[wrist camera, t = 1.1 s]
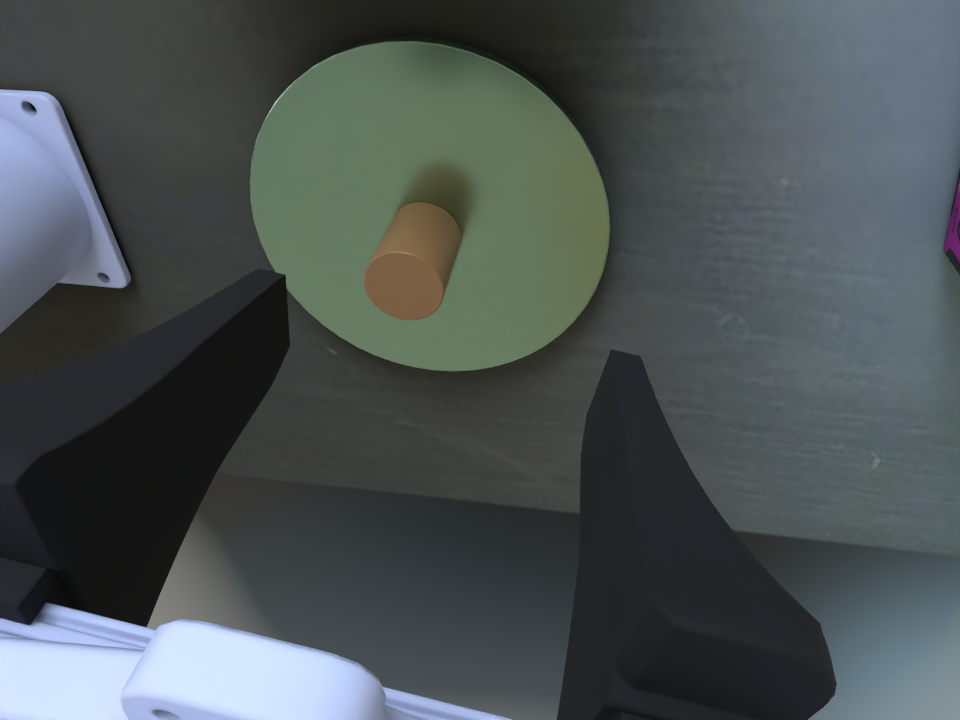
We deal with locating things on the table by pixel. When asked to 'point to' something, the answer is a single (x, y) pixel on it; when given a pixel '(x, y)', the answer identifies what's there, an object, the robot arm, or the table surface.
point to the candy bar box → (954, 232)
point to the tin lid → (430, 203)
